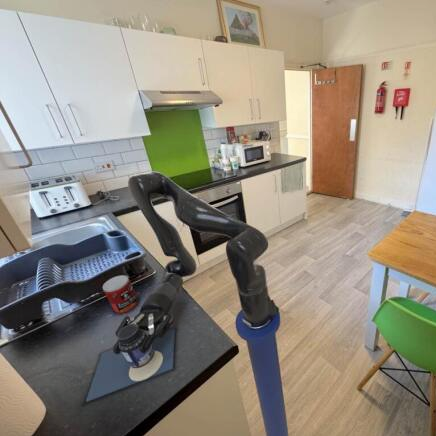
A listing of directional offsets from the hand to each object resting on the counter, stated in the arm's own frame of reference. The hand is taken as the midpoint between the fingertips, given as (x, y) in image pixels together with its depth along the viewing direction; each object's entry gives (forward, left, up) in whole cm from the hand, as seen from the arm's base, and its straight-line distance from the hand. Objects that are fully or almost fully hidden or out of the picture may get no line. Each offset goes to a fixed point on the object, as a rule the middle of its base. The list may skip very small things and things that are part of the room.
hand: (129, 351), depth 60 cm
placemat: (+2, -5, -10) cm, 11 cm away
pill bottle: (-1, -2, -7) cm, 7 cm away
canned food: (+9, -31, -10) cm, 34 cm away
